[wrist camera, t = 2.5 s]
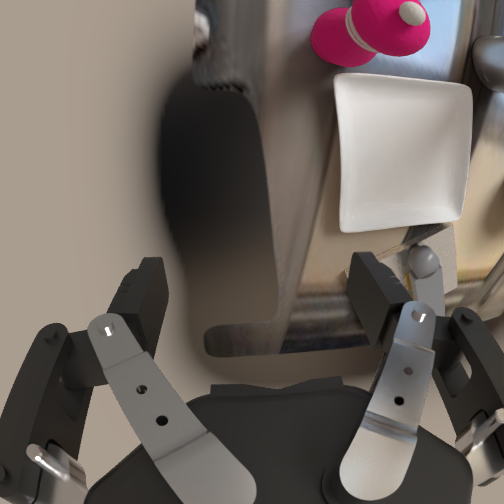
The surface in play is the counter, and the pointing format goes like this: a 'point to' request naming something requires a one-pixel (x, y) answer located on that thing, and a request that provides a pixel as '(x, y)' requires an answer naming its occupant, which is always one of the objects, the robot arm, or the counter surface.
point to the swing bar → (427, 279)
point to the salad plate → (401, 150)
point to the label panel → (438, 241)
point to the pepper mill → (370, 31)
